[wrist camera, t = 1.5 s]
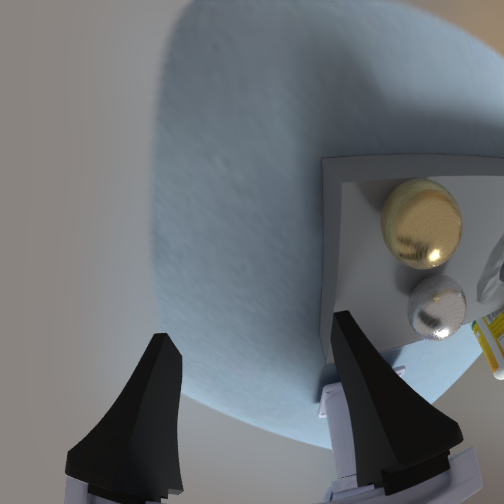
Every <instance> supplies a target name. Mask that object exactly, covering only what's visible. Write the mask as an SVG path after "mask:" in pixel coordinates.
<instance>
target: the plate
mask: <svg viewBox="0 0 504 504" xmlns="http://www.w3.org/2000/svg"><path fill="white" fill-rule="evenodd" d="M412 179H427V180H432V181H434V182H436V183H439V184H440V185H442V186H443V187H445V188H446V189H447V190H448V191H449V192H450V193H451V194H452V196H453V197H454V198H455V200H456V202H457V204H458V206H459V208H460V211H461V215H462V223H463V227H462V236H461V239H460V243H459V245H458V247H457V249H456V251H455V252H454V254H453V255H452V256H451V257H450V258H449V259H448V260H447V261H446V262H444V263H443V264H441V265H439V266H437V267H434V268H431V269H415V268H411V267H408V266H406V265H404V264H402V263H401V262H399V261H398V260H397V259H396V258H395V257H394V256H393V255H392V254H391V253H390V251H389V250H388V248H387V247H386V245H385V243H384V240H383V237H382V233H381V226H380V220H381V212H382V208H383V205H384V203H385V201H386V199H387V197H388V196H389V194H390V193H391V192H392V191H393V190H394V189H395V188H396V187H397V186H399V185H400V184H402V183H404V182H406V181H409V180H412ZM322 181H323V270H322V295H321V313H320V328H319V335H320V339H321V344H322V348H323V352H324V356H325V361H326V364H332V363H335V361H334V357H333V352H332V346H331V341H330V336H331V329H332V321H333V313H334V312H339V311H344V310H348V311H350V313H351V315H352V316H353V318H354V319H355V321H356V322H357V324H358V325H359V327H360V328H361V330H362V331H363V332H364V334H365V335H366V337H367V338H368V339H369V341H370V342H371V343H372V345H373V346H374V347H375V348H376V350H377V351H378V352H383V351H387V350H390V349H394V348H398V347H401V346H404V345H408V344H411V343H414V342H417V341H420V340H423V338H421V337H420V336H418V335H417V334H416V333H415V332H414V330H413V329H412V327H411V326H410V323H409V320H408V316H407V305H408V300H409V297H410V295H411V293H412V291H413V289H414V288H415V287H416V286H417V284H419V283H420V282H421V281H422V280H424V279H425V278H427V277H429V276H433V275H445V276H448V277H451V278H452V279H454V280H455V281H457V282H458V283H459V285H460V286H461V287H462V289H463V291H464V293H465V296H466V302H467V310H466V315H465V318H464V321H463V323H462V325H465V324H467V323H469V322H472V321H474V320H477V319H479V318H481V317H483V316H486V315H488V314H490V313H492V312H495V311H497V310H499V309H501V308H503V307H504V158H496V157H484V156H469V155H447V154H388V155H364V156H347V157H334V158H322ZM462 325H461V326H462Z"/></svg>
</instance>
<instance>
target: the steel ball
mask: <svg viewBox="0 0 504 504" xmlns="http://www.w3.org/2000/svg"><path fill="white" fill-rule="evenodd" d="M466 310H467V302H466V296H465V293H464V291H463V289H462V287H461V286H460V285H459V283H458V282H457V281H455V280H454V279H452V278H451V277H448V276H445V275H433V276H429V277H427V278H425V279H424V280H422V281H421V282H420V283H419V284H417V286H416V287H415V288H414V289H413V291H412V293H411V295H410V297H409V300H408V305H407V316H408V320H409V323H410V326H411V327H412V329H413V330H414V332H415V333H416V334H417V335H418V336H420V337H421V338H423V339H425V340H429V341H441V340H444V339H447V338H449V337H450V336H452V335H453V334H454V333H455V332H456V331H457V330H458V329H459V328H460V326H461V325H462V323H463V321H464V318H465V315H466Z"/></svg>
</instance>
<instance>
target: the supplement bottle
mask: <svg viewBox="0 0 504 504" xmlns="http://www.w3.org/2000/svg"><path fill="white" fill-rule="evenodd" d="M470 326H471V328H472V330H473V332H474V334H475V336H476V338H477V340H478V342H479V344H480V346H481V348H482V350H483V352H484V354H485V356H486V358H487V360H488V363H489V365H490V367H491V369H492V372H493V374H494V376H495V377H496V378H497V379H499V380H503V379H504V307H503V308H501V309H499V310H497V311H495V312H492V313H490V314H488V315H486V316H483V317H481V318H479V319H477V320H474V321H472V322H470Z"/></svg>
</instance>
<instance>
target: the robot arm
mask: <svg viewBox="0 0 504 504" xmlns="http://www.w3.org/2000/svg"><path fill="white" fill-rule="evenodd" d="M330 341H331V346H332V352H333V357H334V361H335V364H336V368H337V371H338V374H339V377H340V381H341V382H338V383H333V384H329V385H326V386H324V387H323V391H322V396H321V401H320V406H319V410H318V418H323V417H327V421H328V427H329V432H330V438H331V444H332V450H333V456H334V460H335V465H336V472H337V478H338V479H339V478H344V477H349V476H353V475H356V476H353V477H349V478H346V479H341V480H337V481H333V482H332V486H330V487H329V488H328V490H327V492H326V493H325V495H324V496H323V499H322V502H320V503H314V504H459V503H461V502H462V501H464V500H465V499H467V498H468V497H470V496H471V495H473V494H474V493H476V492H477V491H479V490H480V489H481V488H482V487H483V484H482V479H481V474H480V469H479V465H478V460H477V456H476V452H475V448H474V447H473V446H472V447H470V448H468V449H466V450H464V451H462V452H460V453H458V454H455V455H453V456H450V457H448V455H450V451H449V449H450V448H452V447H454V446H456V445H458V444H460V443H461V442H462V441H463V440H464V439H463V436H462V432H461V429H460V427H459V425H458V423H457V422H456V421H454V420H452V419H451V418H449V417H448V416H446V415H445V414H443V413H442V412H440V411H439V410H438V409H436V408H435V407H434V406H432V405H431V404H430V403H429V402H427V401H426V400H425V399H424V398H423V397H421V396H420V395H419V394H418V393H417V392H415V391H414V390H413V389H412V388H411V387H410V386H409V385H408V384H407V383H406V382H405V381H404V380H403V379H402V378H401V376H402V375H403V373H404V372H405V370H406V368H405V366H400V367H396V368H393V369H392V368H391V366H390V365H389V364H388V363H387V362H386V361H385V360H384V358H383V357H382V356H381V355H380V353H379V352H378V351H377V350H376V348H375V347H374V346H373V345H372V343H371V342H370V341H369V339H368V338H367V337H366V335H365V334H364V332H363V331H362V330H361V328H360V327H359V325H358V324H357V322H356V321H355V319H354V318H353V316H352V315H351V313H350V311H348V310H344V311H339V312H334V313H333V321H332V329H331V336H330ZM181 384H182V355H181V354H180V352H179V351H178V349H177V348H176V346H175V345H174V343H173V342H172V340H171V339H170V337H169V336H168V334H167V333H156V334H154V335H153V337H152V339H151V341H150V343H149V344H148V346H147V348H146V350H145V352H144V354H143V356H142V358H141V359H140V361H139V363H138V365H137V367H136V368H135V370H134V372H133V374H132V376H131V378H130V379H129V381H128V382H127V384H126V386H125V387H124V389H123V390H122V392H121V394H120V395H119V397H118V398H117V399H116V401H115V402H114V404H113V405H112V407H111V408H110V409H109V411H108V412H107V413H106V414H105V416H104V417H103V418H102V419H101V421H100V422H99V423H98V424H97V425H96V426H95V427H94V428H93V429H92V430H91V431H90V433H88V435H87V436H86V437H84V438H83V439H82V440H81V441H80V442H79V443H78V444H77V445H76V446H74V447H73V448H72V449H71V450H69V451H68V454H67V461H66V468H65V473H66V474H67V475H68V476H71V477H73V478H75V479H72V478H69V477H67V478H66V488H65V501H64V504H164V503H161V498H164V499H168V494H177V495H179V494H181V493H182V492H183V491H184V490H183V485H182V480H181V474H180V467H179V458H178V442H177V419H178V409H179V401H180V392H181ZM76 479H78V480H80V481H78V480H76ZM81 481H83V482H81ZM85 482H86V483H85Z"/></svg>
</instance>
